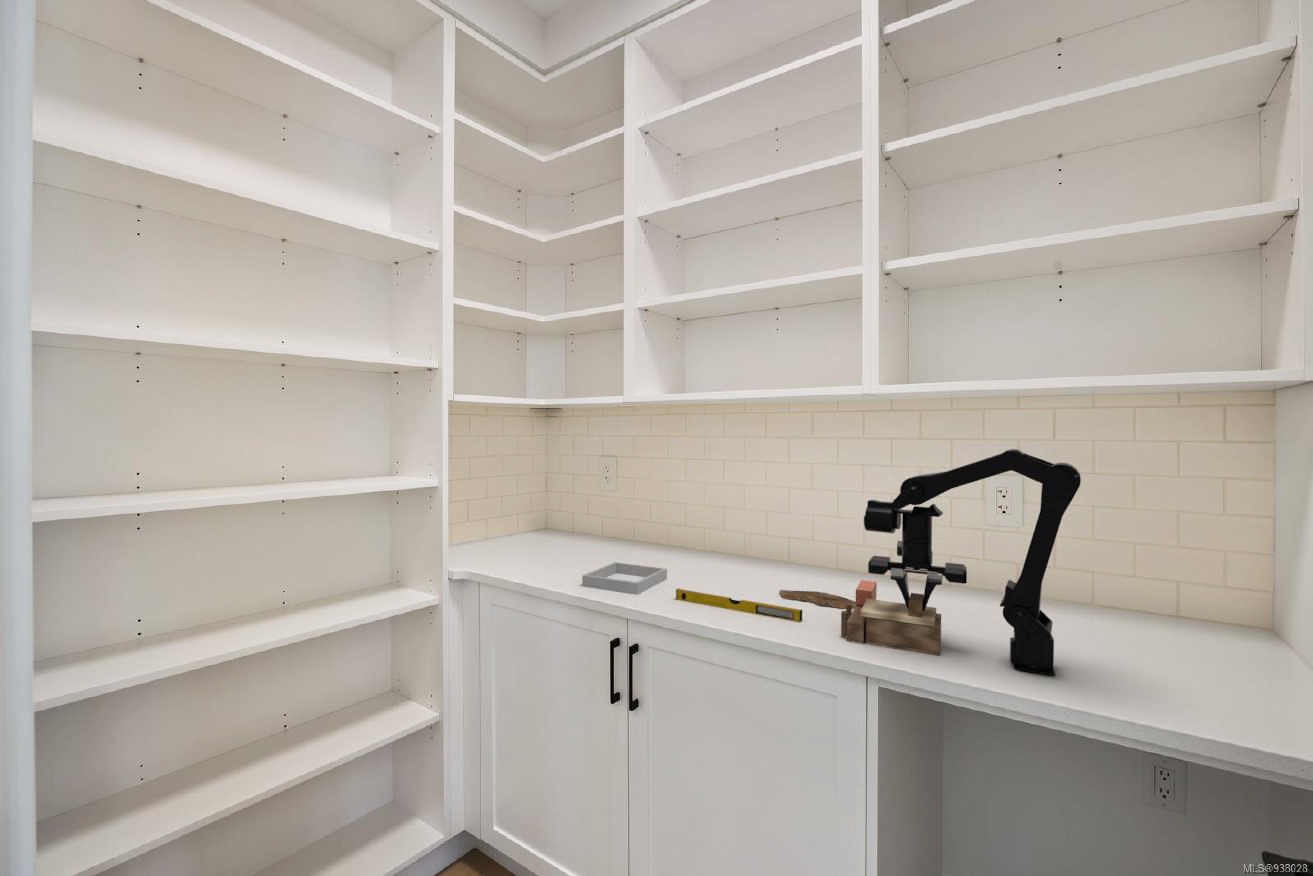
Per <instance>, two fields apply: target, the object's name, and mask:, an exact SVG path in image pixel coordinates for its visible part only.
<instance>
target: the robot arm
mask: <svg viewBox="0 0 1313 876" xmlns="http://www.w3.org/2000/svg"><path fill="white" fill-rule="evenodd" d="M1011 471H1013V472H1015V473H1017V474H1019V475H1022V476H1023V477H1026V478H1028V479H1031V480H1033V481H1034V482H1038V483H1040V484H1041V494H1040V510H1039V514H1038V516H1037V519H1036V523H1035V528H1034V531H1033V533H1032V536H1031V539H1030V543H1029V546H1028V550H1027V552H1026V556H1025V560H1024V563H1023V566H1022V569H1021V574H1020V575H1019V577H1018V579H1017V581H1016V582H1014V581H1013V580H1011V579H1008V581H1007V583H1006V584H1005V591H1004V596H1003V597H1002V599H1001V601H1000V604H999V607H1001V608H1002V607H1003V609H1002V616H1003V618H1004V620H1005V621H1006V623H1007V624H1008V625H1009V626H1011V627H1012V628H1013V637H1012V636H1011V637H1009V659H1010V660H1009V661H1010V663H1012V666H1013V668H1014V670H1017V671H1022V672H1029V673H1034V674H1041V675H1045V676H1046V675H1047V676H1053V677H1055V676H1056V671H1055V668H1054V661H1055V660H1054V659H1055V657H1054V655H1055V654H1054V653H1055V652H1054V651H1055V649H1054V648H1055V639H1054V637H1053V635H1052V631H1053V630H1052V629H1053V620H1052V619H1050V617H1048V616H1047V614H1046V613H1044V612H1043V610H1041V601H1042V591H1043V590H1042V588H1043V580H1044V577H1045V574H1046V572H1047V571H1046V570H1047V567H1048V564H1049V560H1050V557H1051V554H1052V551H1053V548H1054V545H1055V542H1056V539H1057V535H1058V533H1059V528H1060V526H1061V521H1062V519H1063V516H1064V514H1065V513H1066V511H1067V509H1068V508H1069V506H1070V505H1071V503H1072V502H1073V499H1074V497H1075V495H1076V494H1077V492H1078V490H1079V489H1080V486H1081V480H1082V479H1081V478H1082V477H1081V474H1080V471H1079V470H1078V469H1077V468H1076V467H1075V466H1074V465H1072V464H1070V463H1067V462H1057V463H1052V462H1050V461H1047V460H1044V459H1041V458H1038V457H1035V456H1033V455H1030V454H1027V453H1024V452H1022V451H1021V450H1019V449H1016V448H1011V449H1007V450H1005V451H1003V452H1002V453H999V454H995V455H992V456H989V457H986V458H984V459H980V460H978V461H975V462H971V463H969V464H965V465H962V466H959V467H955V468H954V469H951V470H946V471H939V472H932V473H927V474H921V475H920V474H919V475H915V476H911V477H908V478H906V479H905V480H903V481H902V483H901V485H900V490H899V492H900V493H899V494H898V496H896V497H895V499H893V501H892V502H890V501H879V500H876V499H870V500H867V506H866V508H865V513H864V516H863V525H864V530H865V531H867V532H877V533H885V534H886V533H887V534H895V532H896V530H900V529H901V526H902V529H901V530H902V531H901V540H897V544H896V555H897V557H901V562H897V561H891V557H889V556H882V555H881V556H880V555H873V556H871V558H870V559H869V560H868V564H867V568H868V569H867V572H868V574H872V575H873V574H874V575H883V576H884V575H885V574H886V573H888V571H890V573H891V575H890V578H889V579H890V580H891V581H895V583H896V584H897V587H898V588H899V590H900V592H901V595H902V598H903V600H904V604H906V606H907V609H908V607H909V598H910V590H909V589H910V588H909V583H908V582H909V580H908V574H909V573H910V574H919V575H926V579H925V585H924V593H923V594H924V597H923V603H922V611H925V608H926V607H927V605H928V602H929V600H930V597H931V595H932V593H933V591H934V589H935V587H936V586H942V585H943V578H944V579H946V581H948V582H949V583H955V584H956V583H957V584H963V585H964V584H967V583H968V580H967V577H968V576H967V575H968V573H967V570H968V569H967V566H966V565H965V564H964V563H954V562H953V563H952V562H945V565H944V566H939V565H938V566H936V565H933V550H932V547H933V541H932V540H933V539H932V538H933V517H934V518H935V517H936V518H939V517H941V516H942V515H943V513H944V512H943V511H942V510H940V509H939V508H938V507H937V505H936V504H935V503H932V504H931V505H929V506H928V507H927V506H919V505H923V504H924V503H926V502H928V501H930V500H932V499H934V498H935V497H938V496H940V495H942V494H944V493H946V492H948V491H950V490H951V489H956V488H958V487H961V486H964V485H967V484H971V483H974V482H978V481H981V480H983V479H987V478H991V477H994V476H997V475H1000V474H1001V475H1002V474H1003V473H1004V474H1005V473H1007V472H1011ZM910 505H912V506H913V508H912V509H903V508H905V507H907V506H910Z"/></svg>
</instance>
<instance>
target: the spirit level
mask: <svg viewBox="0 0 1313 876" xmlns="http://www.w3.org/2000/svg"><path fill="white" fill-rule="evenodd" d="M676 600H677V601H682V602H687V603H693V604H699V605H704V606H710V607H714V608H715V607H716V608H720V609H725V610H730V611H731V610H732V611H736V612H737V611H738V612H743V613H748V614H753V615H758V616H759V615H760V616H764V617H771V618H775V619H781V620H785V621H793V622H796V623H797V622H798V623H801V622H803V609H799V608H791V607H786V606H781V605H780V606H779V605H774V604H769V603H764V602H763V603H762V602H757V601H750V600H747V599H745V600H744V599H741V600H736V599H732V597H729V596H723V595H715V594H711V593H705V592H699V591H692V590H686V589H681V588H680V587H679V588H677V589H675V601H676Z"/></svg>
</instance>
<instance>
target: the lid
mask: <svg viewBox="0 0 1313 876" xmlns="http://www.w3.org/2000/svg"><path fill="white" fill-rule="evenodd" d="M909 597H910V598H909V607H908V609H907V606H906V603H902V602H897V601H896V602H895V601H886V600H878V599H876V600H873V599H867V600H866V602H865V604H864V605H863V607H862V609H861V611H860V616H864V617H871V618H878V619H885V620H891V621H898V622H905V623H912V624H919V625H926V626H933V627H935V618H936V613H937V607H933V606H926V608H925V611H922V603H923V597H924V593H917V592H910V594H909Z"/></svg>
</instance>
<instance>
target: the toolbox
mask: <svg viewBox="0 0 1313 876" xmlns="http://www.w3.org/2000/svg"><path fill="white" fill-rule="evenodd" d="M875 600H877V597H876V598H875ZM862 607H863V605H856V606H855V608H854V609H852V604H851V603H847V604H846V609H845V610H842V611H841V614H840V616H841V617H840V618H841V619H840V621H841V622H840V623H841V624H840V626H841V628H840V632H841V633H840V638H841V637H845V638H844V639H846V641H847V642H850V641H855V642H854V643H856V642H861V643H860V644H862V643H863V644H864V643H865V644H866V643H868V644H867V645H871V644H872V646H877V645H878V647H883V646H886V647H885V648H889V647H892V648H891V649H896V648H897V650H903V651H908V650H911V651H910V652H914V651H915V653H920V654H926V655H932V656H941V655H940V654H941V641H942V614H941V613H937V612H936V618H935V627H933V626H926V625H919V624H912V623H905V622H898V621H891V620H885V619H878V618H871V617H864V616H860V611H861V609H862ZM846 636H847V637H846ZM865 638H866V639H865Z"/></svg>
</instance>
